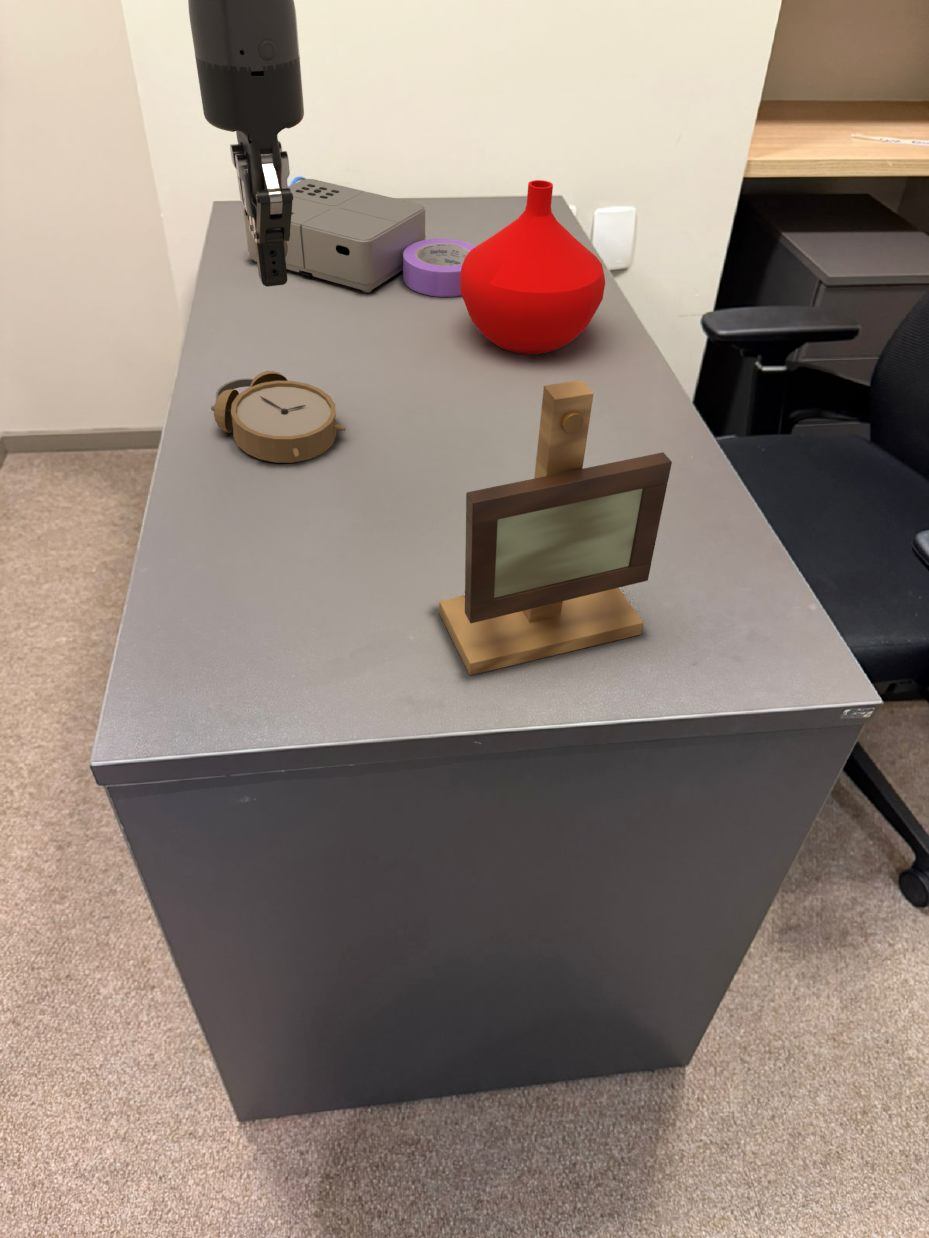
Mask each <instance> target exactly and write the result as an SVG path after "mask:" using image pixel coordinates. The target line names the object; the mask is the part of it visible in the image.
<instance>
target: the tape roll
mask: <svg viewBox="0 0 929 1238" xmlns="http://www.w3.org/2000/svg"><path fill="white" fill-rule="evenodd" d="M476 246H477V245H475V244H472V243H470V242H467V241H464V240H461V239H453V238H429V239H428V238H427V239H425V240H422V241H418V242H415V243H413V244H411V245H409V246H408V247H407V248H406V249H405V250H404V252H403V270H402V279H403V283H404V284H405V286H406V287H408V288H409V289H410V290H412V291H413V292H414V291H415V292H416V293H418V294H422V295H425V296H430V297H437V298H455V297H462V294H461V292H460V273H461V267H462V264H463V262H464V259H465V257H466V255H467V254H468V253H469V252H470V251H471V250H472V249H473V248H475V247H476Z"/></svg>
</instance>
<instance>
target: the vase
mask: <svg viewBox="0 0 929 1238" xmlns="http://www.w3.org/2000/svg"><path fill="white" fill-rule="evenodd" d="M553 190H554V184H553V183H552V182H551V181H548V180H543V179H535V180H530V181H529V182H528V183H527V193H526V204H525V209H524V210H523V212H522V213H521V214H520V215H519V217H518V218H516V219H515V220H513V221H512V222H510V223H508V225H506V226H504V227H503V228H502V229H500V230H499V231H498V232H496V233H495V234H494V235H492V236H490V237H488V238H487V239H485V240H484V241H483V242H481V243H479V244H478V245H475V246H476V247H475V248H473V249H472V250H471V251H470V252H469V253H468V254H467V255H466V257H465V259H464V262H463V264H462V267H461V273H460V292H461V294H462V296H461V297H462V299H463V302H464V305H465V307H466V311H467V313H468V315H469V318H470V319H471V321H472V323H473V324H474V325H475V327H476V328H477V329H478V331H479V332H480V333H481V334H482V335H483V336H484V337H485V338H486V339H487V340H489V341H490V342H491V343H492V344H494V345H496V346H497V347H499V348H501V349H503V350H506V351H509V352H512V353H517V354H523V355H540V354H541V355H542V354H547V353H552V352H554V351H556V350H558V349H561V348H563V347H564V346H566V345H568V344H570V343H571V342H572V341H574V340H575V339H576V338H577V337H578V336H580V334H581V333H583V331H584V330H585V329H587V327H588V326H589V324H590V322H591V321H592V319H593V318H594V316H595V314H596V312H597V311H598V309H599V307H600V305H601V303H602V301H603V299H604V294H605V288H606V277H605V272H604V268H603V263H602V262H601V261H600V260H599V258H598V257H597V255H595V254H594V253H593V252H592V251H591V250H589V249H588V248H587V247H586V246H585V245H584V244H583V243H581V242H580V241H579V240H578V239H577V238H576V237H575V236H573V235H572V233H571V232H569V230H567V229H566V228H565V227H564V226H563V225H562V224H561V223H560V222H559V221H558V220H557V218H556V217H555V215H554V213H553V211H552V201H553Z"/></svg>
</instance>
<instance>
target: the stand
mask: <svg viewBox="0 0 929 1238" xmlns="http://www.w3.org/2000/svg"><path fill="white" fill-rule="evenodd" d="M593 400H594V392H593V391H592V390H591V389H590V388H589V386H588V385H587V384H586V383H585V381H584V380H583V379H579V380H572V381H566V382H560V383H553V384H547V385H543V393H542V399H541V401H542V402H541V410H540V412H541V413H540V420H539V431H538V439H537V450H536V458H535V467H534V477H533V479H534V478H539V477H544V476H549V475H554V474H559V473H564V472H569V471H574V470H579V469H584V463H585V462H584V461H585V455H586V448H587V441H588V434H589V429H590V421H591V414H592V408H593V407H592V406H593ZM438 614H439V616H440V618H441V619H442V622H443V624H444V626H445V628H446V630H447V632H448V634H449V636H450V638H451V640H452V642H453V645H454V646H455V649H456V651H457V653H458V655H459V657H460V659H461V661H462V662H463V665H464V667H465V670H466V671H467V673H468V676H473V675H477V674H483V673H487V672H490V671H494V670H499V669H503V668H507V667H511V666H515V665H519V664H524V663H527V662H531V661H536V660H540V659H544V658H548V657H552V656H557V655H561V654H564V653H569V652H573V651H579V650H582V649H586V648H590V647H594V646H599V645H602V644H607V643H611V642H615V641H620V640H624V639H627V638H632V637H636V636H640V635H641V634H642V631H643V627H644V621H643V620H642V618H641V617H640V616H639V614H638V613H637V611H636V610H635V609H634V607H633V606H632V604H631V603H630V601H629V600H628V599H627V597H626V596H625V595H624V593H623V592H622V590H621V589H620V587H619V588H615V589H611V590H607V591H603V592H599V593H595V594H590V595H586V596H582V597H578V598H574V599H570V600H566V601H562V602H557V603H553V604H549V605H545V606H541V607H537V608H533V609H529V610H524V611H520V612H516V613H512V614H508V615H504V616H500V617H496V618H492V619H487V620H483V621H479V622H475V623H470V622H469V620H468V618H467V616H466V614H465V595H461V596H456V597H451V598H447V599H442V600H439V601H438Z"/></svg>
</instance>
